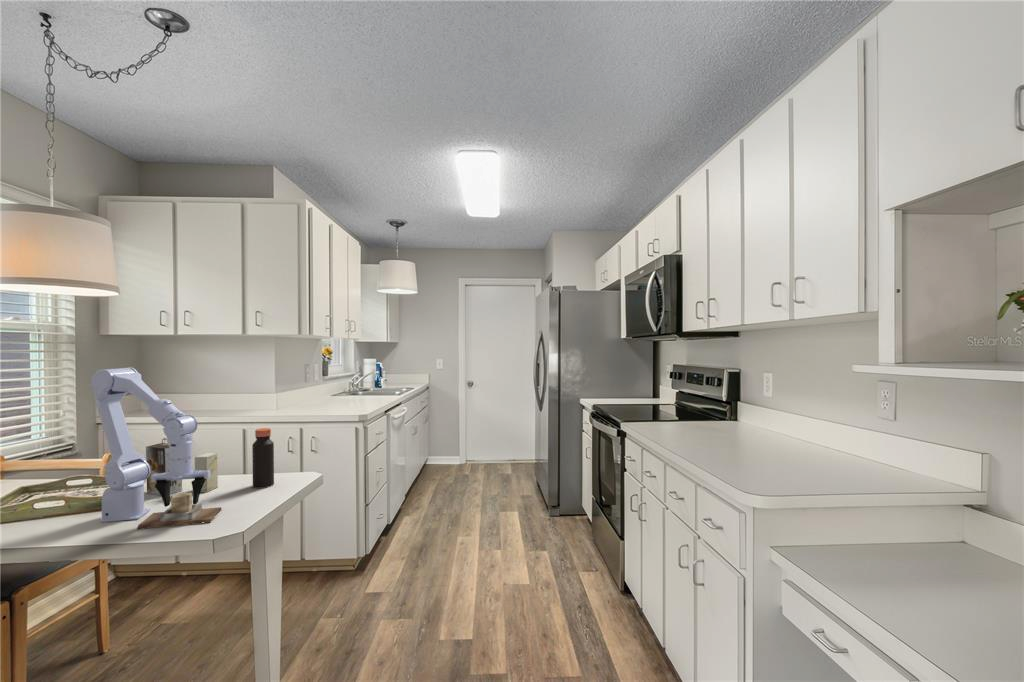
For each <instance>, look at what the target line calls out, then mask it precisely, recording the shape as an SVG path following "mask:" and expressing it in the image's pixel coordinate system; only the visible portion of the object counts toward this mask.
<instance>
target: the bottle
mask: <svg viewBox="0 0 1024 682" xmlns="http://www.w3.org/2000/svg"><path fill="white" fill-rule="evenodd" d="M271 431H272V430H271V428H269V427H268V428H267V427H266V428H265V427H264V428H257V429H255V433H254V434H255V439H256V440H255V441H253V443H252V446H251V447H252V449H251V450H252V451H251V452H252V454H251V455H252V487H253V488H255V487H265V488H269V487H272V486H273V485H274V484H275V461H274V459H275V458H274V457H275V455H274V454H275V450H274V448H275V446H274V445H275V442H274V441H272V439H270V437H271V434H272V433H271ZM271 485H272V486H271ZM268 486H269V487H268Z"/></svg>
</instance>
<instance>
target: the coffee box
mask: <svg viewBox="0 0 1024 682" xmlns="http://www.w3.org/2000/svg"><path fill="white" fill-rule="evenodd" d="M145 460H146V462H147V463H148V464H149V466H150V469H151V472H150V475H149V477H148V478H147V479H146V494H147V495H148V494H149V495H158V496H161V495H160V493H159V491H158V490H157V489H156V488H155V484H156V483H157V481H156V482H151V475H153V474H158V473H166V472H169V444H168V442H167V443H166V442H161V443H154V444H151V445H148V446H145ZM181 491H182V492H183V480H171V486H170V495H172V494H177V493H178V492H181Z"/></svg>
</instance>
